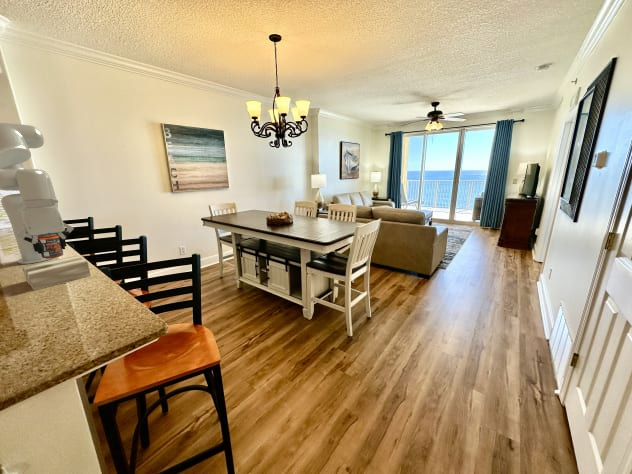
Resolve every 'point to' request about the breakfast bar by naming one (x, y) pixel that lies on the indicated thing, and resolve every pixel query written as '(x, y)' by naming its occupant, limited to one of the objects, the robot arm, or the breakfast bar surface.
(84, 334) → the breakfast bar surface
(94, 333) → the breakfast bar surface
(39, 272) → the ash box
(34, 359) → the breakfast bar surface
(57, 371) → the breakfast bar surface
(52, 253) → the supplement bottle
